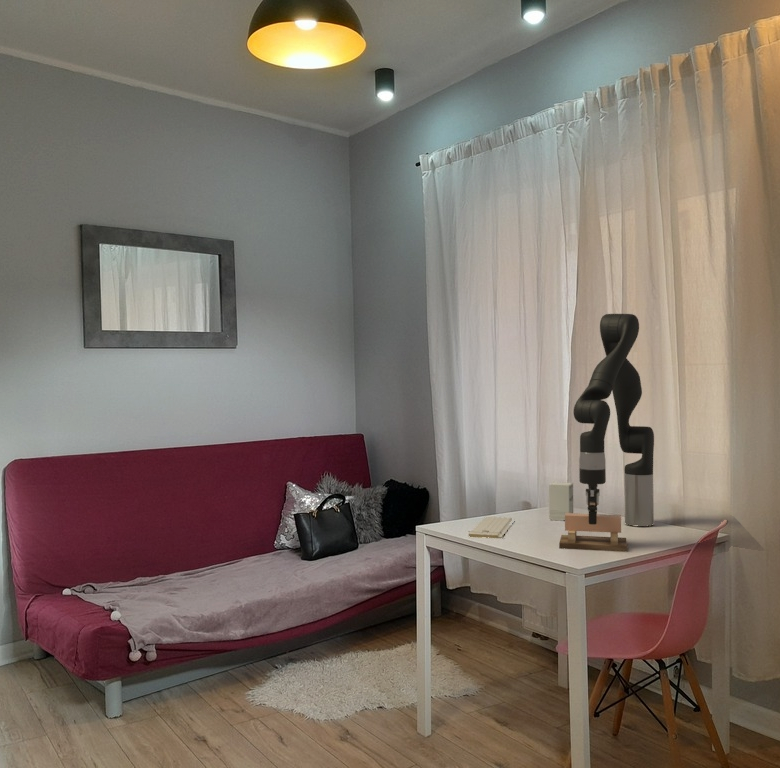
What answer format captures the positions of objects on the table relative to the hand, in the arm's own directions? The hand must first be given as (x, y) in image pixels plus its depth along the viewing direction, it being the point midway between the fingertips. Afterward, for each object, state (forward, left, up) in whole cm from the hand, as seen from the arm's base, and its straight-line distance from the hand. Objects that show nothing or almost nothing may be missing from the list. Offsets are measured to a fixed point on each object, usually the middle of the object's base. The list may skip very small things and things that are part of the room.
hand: (592, 521), depth 223 cm
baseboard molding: (-19, -32, -8) cm, 38 cm away
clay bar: (0, 0, -3) cm, 3 cm away
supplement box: (-41, -12, -7) cm, 43 cm away
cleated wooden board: (0, 0, -7) cm, 7 cm away
